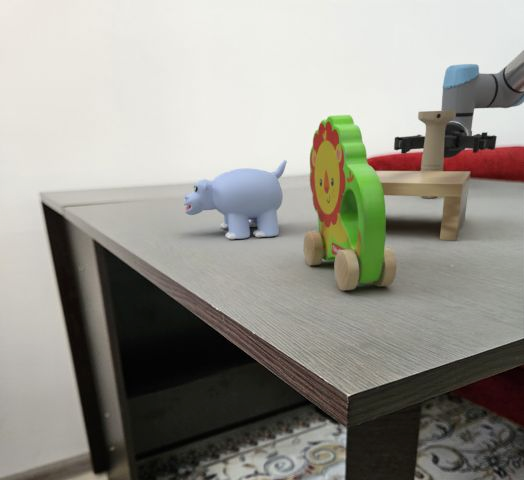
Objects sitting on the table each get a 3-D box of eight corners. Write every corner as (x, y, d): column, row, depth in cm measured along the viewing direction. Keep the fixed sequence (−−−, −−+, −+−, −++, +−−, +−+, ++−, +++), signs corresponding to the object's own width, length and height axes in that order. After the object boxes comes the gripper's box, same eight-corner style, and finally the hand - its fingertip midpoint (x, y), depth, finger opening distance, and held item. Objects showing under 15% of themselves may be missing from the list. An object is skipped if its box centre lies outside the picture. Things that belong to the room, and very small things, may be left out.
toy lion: (399, 291, 49) (412, 113, 43) (344, 297, 48) (349, 115, 42) (338, 252, 63) (342, 114, 57) (295, 256, 62) (294, 116, 56)
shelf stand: (464, 220, 78) (470, 171, 75) (456, 240, 67) (462, 183, 64) (359, 216, 84) (361, 170, 81) (334, 234, 73) (335, 181, 70)
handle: (448, 199, 97) (458, 110, 91) (413, 199, 98) (420, 111, 92) (444, 195, 101) (453, 110, 95) (410, 195, 102) (417, 111, 96)
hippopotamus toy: (185, 228, 80) (179, 162, 76) (281, 221, 82) (280, 157, 78) (187, 243, 70) (180, 169, 66) (296, 235, 72) (295, 163, 68)
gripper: (506, 156, 117) (504, 166, 99) (394, 156, 126) (374, 165, 109) (512, 120, 114) (511, 123, 96) (396, 123, 123) (376, 126, 106)
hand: (438, 145), depth 102 cm, fingers open, 13 cm apart
